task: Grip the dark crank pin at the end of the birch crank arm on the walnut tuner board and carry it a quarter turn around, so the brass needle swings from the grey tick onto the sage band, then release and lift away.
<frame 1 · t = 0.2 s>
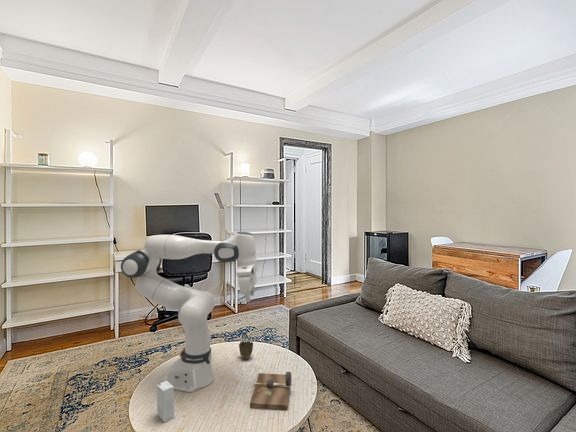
hand: (250, 298, 139), 39 cm above the table, tool pointing down, fingers open, 8 cm apart
skincare box: (165, 417, 118), on the table
tuning crank: (272, 379, 135), point 5 cm above the table, hinge at 0.0°
tuner board: (271, 392, 134), on the table
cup: (245, 358, 163), on the table
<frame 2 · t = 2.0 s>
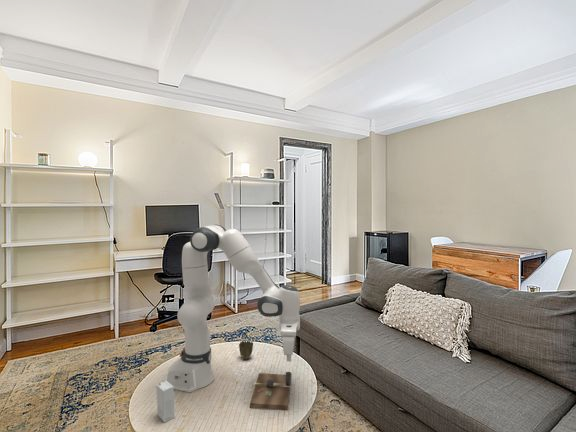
hand: (289, 355, 134), 16 cm above the table, tool pointing down, fingers open, 8 cm apart
nothing on the table moved.
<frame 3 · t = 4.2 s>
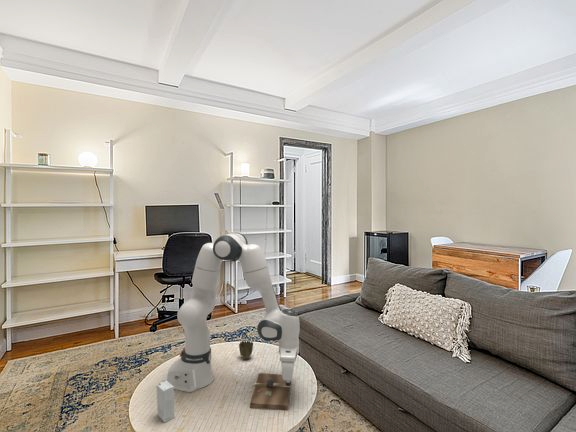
hand: (288, 379, 134), 6 cm above the table, tool pointing down, fingers closed on tuning crank, 2 cm apart
tuning crank: (272, 379, 135), point 5 cm above the table, hinge at 0.0°, touching gripper
everything else where it was.
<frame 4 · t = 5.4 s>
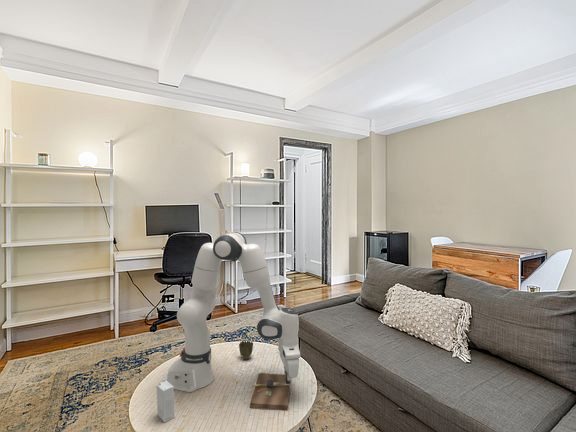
hand: (287, 376, 136), 6 cm above the table, tool pointing down, fingers open, 3 cm apart
tuning crank: (272, 378, 135), point 5 cm above the table, hinge at 11.1°, touching gripper
everything else where it was.
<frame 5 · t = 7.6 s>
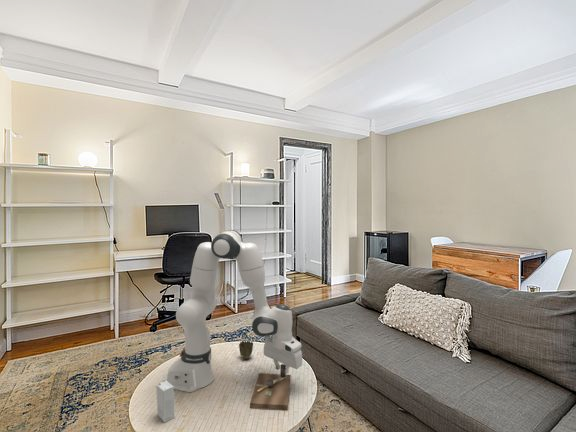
hand: (281, 371, 141), 6 cm above the table, tool pointing down, fingers open, 3 cm apart
tuning crank: (271, 378, 136), point 5 cm above the table, hinge at 49.7°, touching gripper
everything else where it was.
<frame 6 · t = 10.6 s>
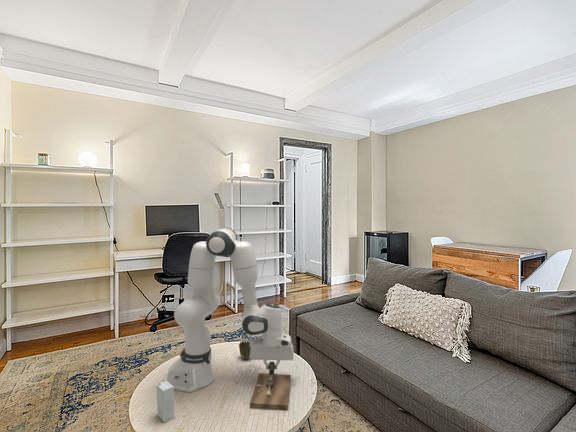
hand: (271, 368, 143), 6 cm above the table, tool pointing down, fingers closed on tuning crank, 2 cm apart
tuning crank: (270, 377, 136), point 5 cm above the table, hinge at 91.6°, touching gripper
everything else where it was.
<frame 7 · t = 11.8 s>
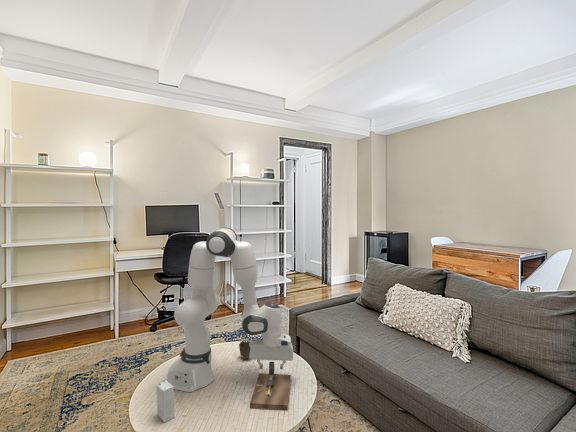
hand: (271, 368, 143), 6 cm above the table, tool pointing down, fingers open, 8 cm apart
tuning crank: (270, 377, 136), point 5 cm above the table, hinge at 91.8°
everything else where it was.
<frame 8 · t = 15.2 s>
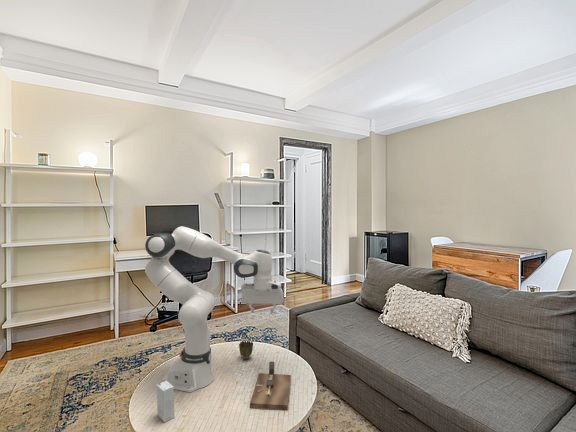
hand: (262, 312, 149), 29 cm above the table, tool pointing down, fingers open, 8 cm apart
nothing on the table moved.
at the end: tuning crank at +92° (first picture: +0°); the gripper is holding nothing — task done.
